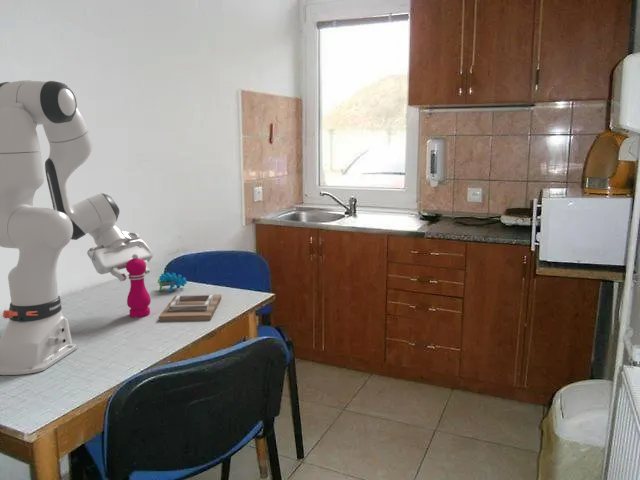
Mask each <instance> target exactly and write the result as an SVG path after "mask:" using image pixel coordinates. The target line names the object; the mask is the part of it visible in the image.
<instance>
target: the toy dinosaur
mask: <svg viewBox="0 0 640 480" xmlns="http://www.w3.org/2000/svg"><path fill="white" fill-rule="evenodd" d="M187 282H188V281H187V278H186V277H183V276H182V274H177V275H176V272H171V273H170V272H169V271H168V272H165V273H161V275H160V276H159V277H158V279H157V283H158V286H159V290H158V291H159V292H161V291H162V289H163V287H169V290H168V292H169V293H172V292H173V289H174V288H175V286H176V287H177V288H181V287H185V285H186V284H187Z"/></svg>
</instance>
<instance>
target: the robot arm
mask: <svg viewBox="0 0 640 480" xmlns="http://www.w3.org/2000/svg"><path fill="white" fill-rule="evenodd" d="M38 125H42V127H43V131H44V133H45V136H46V139H47V141H48V144H49V155H48V158H47V159H46V160H45V163H44V168H43V160H42V153H41V146H40V141H39V136H38V133H37V126H38ZM92 151H93V142H92V137H91V135H90V131H89V129H88V126H87V124H86V122H85V119H84V116H83V115H82V113H81V112H80V109H79V108H78V104H77V98H76V95H75V93H74V92H73V90H72V89H71V88H70V87H69V86H68V85H67V84H65V83H63V82H61V81H55V80H49V81H45V80H43V81H41V80H30V79H29V80H18V81H12V82H10V81H4V82H0V247H1V248H7V249H16V250H18V251H19V254H18V261H17V264H16V265H15V266H14V267H12V268H11V270H10V271H9V273H8V277H7V281H8V286H9V294H10V303H9V308H8V309H7V310H3V312H2V318H3V319H8V320H9V321H8V323H7V325H6V327H5V329H4V330H3V333H2V334H1V336H0V376H1V375H2V376H14V375H15V376H16V375H28V374H33V373H34V374H35V373H40V372H43V371H45V370H47V369H48V368H50V367H51V366H53V365H54V364H56V363H58V362H59V361H61V360H62V359H63V358H65V357H66V356H68V355H69V354H71V353H73V352H74V351H76V350H77V349H78V346H77V343H74V342H73V339H72V335H71V329H70V325H69V320H68V319H67V317H65V316H64V314H63V313H62V309H63V307H62V300H61V296H60V295H59V289H58V280H57V279H58V278H57V266H58V260H59V257H60V254H61V252H62V251H63V249H64V248H65V247H67V245H68V244H69V243H70V242H71V240H73V241H77V240H79V239H80V238H82V237H84V236H86V235H87V234H88V235H89V236H91V237H92V239H93V241H94V243H95V245H96V246H95V247H91V248H89V249H88V250H87V256H88V258H90V261H91V263H92V265H93V268H94V269H95V271H96V273H98V274H100V275H104V274H105V275H106V274H109V273H110V274H111V275H112V276H114V277H115V278H118V280H119V281H120V282H125V281H126V280H127V275H126V274H125V273H121V272H120V270H123V269H126V264H127V262H128V261H129V260H131V259H133V258H132V256H133V254H137V255H138V259H142V260H143V261H144V262H145V264H146V269H145V271H144V273H145V275H148V274H150V273H151V269H150V268H149V264H148V263H150V261H151V260H152V259H153V256H154V253H153V251H152V249H151V248H150V247H149V245H148V244H147V243H146V242H145V241H144V240H142V239H141V238H140V237H141V236H140V233H137V232H134V231H133V232H131V231H125V230H122V229H121V228H120V227H119V226H117V224H116V222H117V221H118V218H119V215H120V208H119V206H118V204H117V203H116V201H115V200H114V199H113V197H112V196H110V195H108V194H105V193H99V194H98V193H97V194H95V195H93V196H90V197H88V198H86V199H83V200H82V201H79V202H77V203H74V204H72V205H70V201H69V196H68V192H67V191H68V190H67V182H68V181H67V180H68V179H69V178H70V176H72V174H73V173H74V172H75V171H76V170H77V169H78V168H79V167H80V166H82V165H83V164H84V163H85V162H86V161H87V160H88V159H89V157H90V156H91V153H92ZM44 170H45V175H44ZM45 177H46V181H47V187H48V190H49V194H50V199H51V203H52V208H50V207H35V206H34V203H33V202H34V197H35V193H36V191H37V190H38V189H40V188H41V186H43V184H44V180H45Z"/></svg>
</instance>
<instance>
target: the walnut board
mask: <svg viewBox="0 0 640 480" xmlns="http://www.w3.org/2000/svg"><path fill="white" fill-rule="evenodd" d="M221 300H222V294H180V295H178V294H177V295H174V297H173V298H172V299H171V300H170V302H169V303H168V304H167V306H166V307H165V308H164V309H163V311H162V312H161V313H160V314H159V315H158V321H159V322H172V321H173V322H175V321H176V322H178V321H181V322H182V321H184V322H185V321H211V320H212V318H213V317H214V316H215V315H214V314H215V313H216V310H217V309H218V306H219V304H220V302H221Z"/></svg>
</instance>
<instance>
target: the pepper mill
mask: <svg viewBox="0 0 640 480" xmlns="http://www.w3.org/2000/svg"><path fill="white" fill-rule="evenodd" d="M132 258H133V259H131V260H129V261H128V262H127V264H126V268H125V270H126V272H127V273H128V280H129V281H130V289H129V292H128V295H127V298H126V305H127V306H128V307H129V308H130V309H129V316H130V317H132V318H144V317H147V316H149V315H150V314H151V310H150V308H151V307H150V306H149V305H151V301H152V300H151V295H150V294H149V292H148V289H147V288H146V285H145V278H146V274H145V273H144V271H145V269H146V264H145V262H144V261H143V260H142V259H138V255H137V254H133V256H132Z"/></svg>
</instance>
